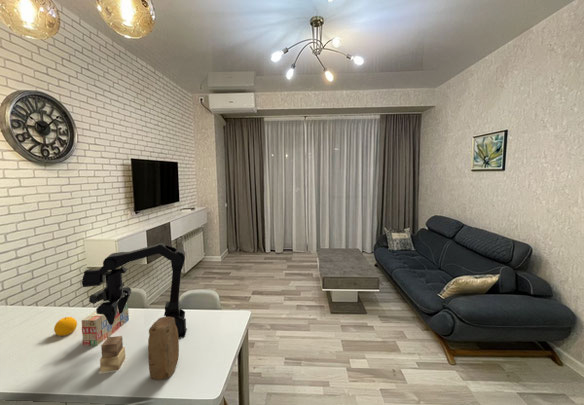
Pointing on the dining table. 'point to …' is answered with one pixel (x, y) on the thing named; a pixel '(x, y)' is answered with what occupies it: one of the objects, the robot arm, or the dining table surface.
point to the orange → (65, 326)
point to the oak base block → (112, 362)
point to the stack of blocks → (101, 326)
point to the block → (163, 348)
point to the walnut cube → (112, 346)
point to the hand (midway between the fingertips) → (116, 318)
